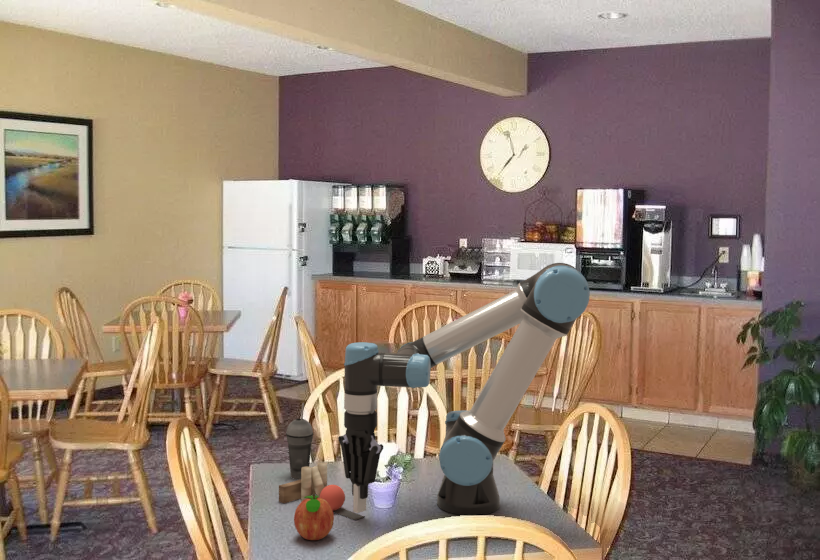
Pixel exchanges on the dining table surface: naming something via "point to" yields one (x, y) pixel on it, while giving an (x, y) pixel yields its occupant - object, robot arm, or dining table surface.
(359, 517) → the dark grey flat bar
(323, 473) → the pin
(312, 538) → the fruit
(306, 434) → the beverage cup
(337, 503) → the ball
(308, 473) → the pin
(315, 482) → the pin front
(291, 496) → the back rail
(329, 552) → the dining table surface
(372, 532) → the dining table surface
